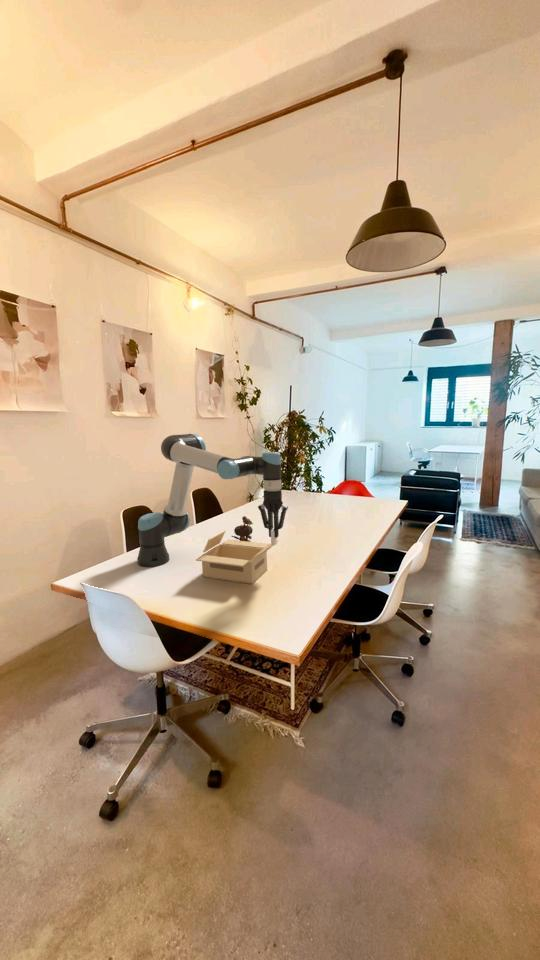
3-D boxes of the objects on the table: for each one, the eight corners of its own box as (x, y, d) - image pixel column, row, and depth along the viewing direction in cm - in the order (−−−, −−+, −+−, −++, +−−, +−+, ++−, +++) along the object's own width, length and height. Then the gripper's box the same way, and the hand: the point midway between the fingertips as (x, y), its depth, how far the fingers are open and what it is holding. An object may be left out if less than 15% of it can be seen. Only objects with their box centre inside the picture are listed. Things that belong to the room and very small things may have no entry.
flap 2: (252, 557, 157) (265, 550, 155) (265, 547, 170) (277, 540, 167) (252, 558, 157) (265, 551, 155) (266, 548, 170) (278, 541, 167)
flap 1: (203, 551, 166) (208, 538, 164) (219, 542, 179) (224, 530, 177) (204, 552, 166) (209, 539, 164) (220, 542, 179) (225, 530, 177)
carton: (195, 582, 161) (193, 559, 160) (227, 559, 187) (226, 539, 186) (246, 590, 152) (245, 565, 151) (272, 565, 178) (271, 544, 177)
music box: (262, 553, 196) (259, 516, 191) (248, 561, 187) (244, 522, 183) (240, 547, 205) (237, 512, 201) (226, 555, 197) (222, 518, 192)
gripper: (254, 490, 156) (256, 545, 159) (284, 491, 151) (285, 548, 155) (261, 487, 163) (263, 540, 166) (290, 488, 158) (291, 543, 161)
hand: (274, 544), depth 160 cm, fingers closed
